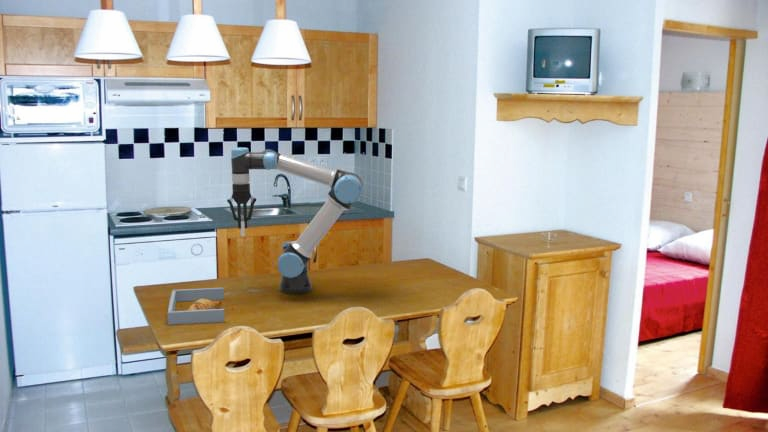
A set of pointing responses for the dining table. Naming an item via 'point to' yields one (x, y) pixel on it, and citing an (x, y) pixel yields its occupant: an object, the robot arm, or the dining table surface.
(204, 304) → the croissant
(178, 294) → the crate
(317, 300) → the dining table surface
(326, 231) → the robot arm
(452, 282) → the dining table surface
